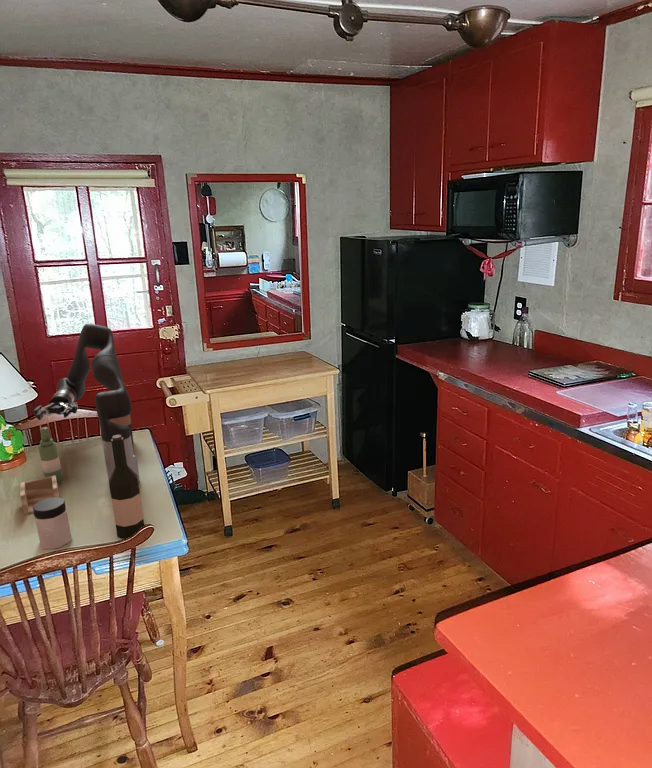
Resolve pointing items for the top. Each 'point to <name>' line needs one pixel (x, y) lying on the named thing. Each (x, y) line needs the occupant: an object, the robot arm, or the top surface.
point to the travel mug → (124, 423)
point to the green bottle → (49, 456)
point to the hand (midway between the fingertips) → (51, 416)
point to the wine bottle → (124, 493)
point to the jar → (52, 522)
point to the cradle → (37, 492)
